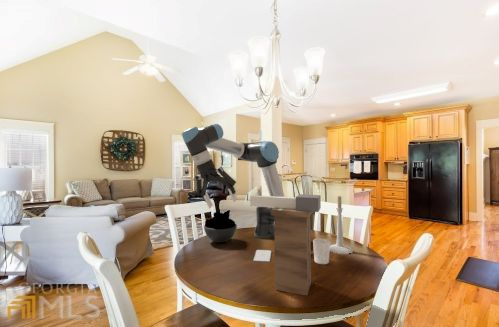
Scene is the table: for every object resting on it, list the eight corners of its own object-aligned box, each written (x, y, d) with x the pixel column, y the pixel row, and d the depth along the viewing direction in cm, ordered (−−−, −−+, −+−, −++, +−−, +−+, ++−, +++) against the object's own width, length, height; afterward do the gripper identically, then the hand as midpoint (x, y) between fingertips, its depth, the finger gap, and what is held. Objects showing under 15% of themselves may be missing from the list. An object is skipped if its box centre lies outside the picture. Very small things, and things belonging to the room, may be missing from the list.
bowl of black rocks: (207, 248, 138) (206, 215, 138) (202, 238, 157) (201, 209, 157) (240, 244, 145) (240, 212, 145) (232, 235, 164) (232, 207, 164)
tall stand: (279, 276, 102) (279, 204, 103) (313, 282, 97) (313, 206, 98) (271, 290, 91) (270, 209, 92) (309, 297, 86) (309, 211, 87)
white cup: (318, 257, 124) (318, 237, 124) (333, 261, 118) (332, 240, 118) (310, 261, 118) (309, 240, 119) (325, 266, 113) (324, 244, 113)
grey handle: (255, 203, 105) (255, 192, 105) (320, 208, 95) (320, 195, 95) (247, 207, 97) (247, 194, 97) (318, 212, 87) (318, 198, 87)
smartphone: (252, 260, 119) (256, 249, 134) (252, 262, 119) (256, 251, 134) (270, 261, 118) (271, 250, 133) (270, 263, 118) (271, 252, 133)
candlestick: (323, 250, 135) (322, 195, 135) (335, 244, 143) (334, 193, 143) (345, 256, 125) (344, 197, 125) (357, 250, 133) (356, 195, 134)
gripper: (177, 172, 110) (197, 213, 114) (223, 155, 99) (243, 201, 103) (186, 166, 116) (205, 205, 120) (230, 150, 106) (249, 193, 110)
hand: (223, 203), depth 112 cm, fingers open, 13 cm apart
